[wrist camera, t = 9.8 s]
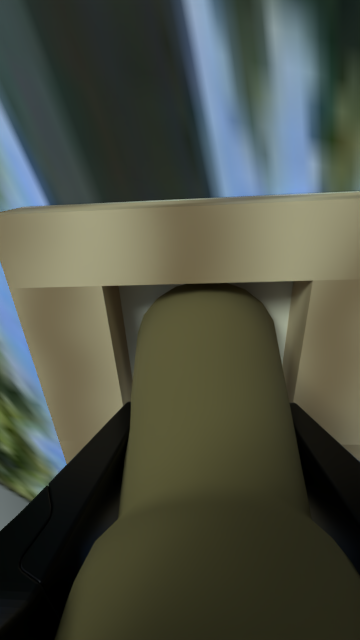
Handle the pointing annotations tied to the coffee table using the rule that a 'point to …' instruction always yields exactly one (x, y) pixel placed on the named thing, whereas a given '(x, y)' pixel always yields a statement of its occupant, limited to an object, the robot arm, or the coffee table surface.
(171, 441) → the cork
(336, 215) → the keyhole plate
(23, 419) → the coffee table surface
